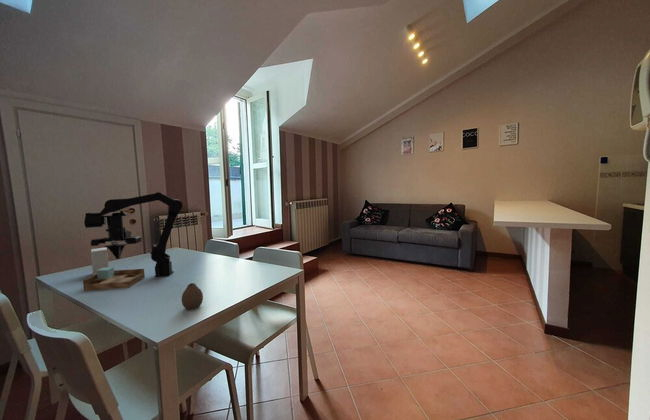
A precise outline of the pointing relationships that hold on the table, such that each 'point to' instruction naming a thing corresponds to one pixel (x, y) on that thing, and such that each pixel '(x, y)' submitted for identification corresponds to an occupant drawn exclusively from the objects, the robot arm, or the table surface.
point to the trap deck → (115, 280)
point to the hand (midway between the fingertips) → (118, 258)
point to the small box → (99, 259)
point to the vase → (192, 297)
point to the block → (105, 273)
